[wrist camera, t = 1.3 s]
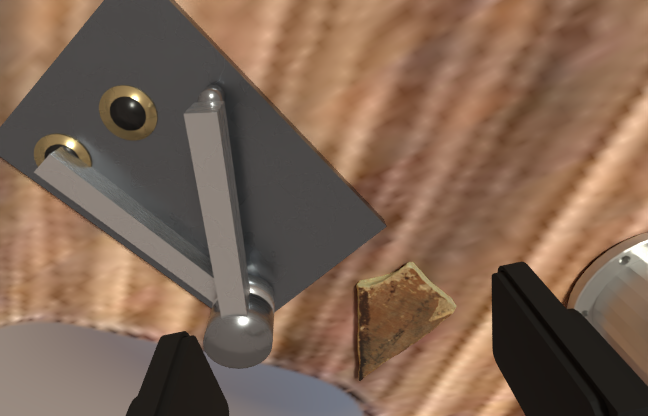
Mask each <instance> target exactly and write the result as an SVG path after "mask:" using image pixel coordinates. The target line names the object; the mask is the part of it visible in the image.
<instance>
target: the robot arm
mask: <svg viewBox="0 0 648 416" xmlns="http://www.w3.org/2000/svg"><path fill="white" fill-rule="evenodd" d="M492 344H493V355H494V358H495V361H496V363H497V365H498V367H499V369H500V371H501V372H502V374H503V376H504V378H505V379H506V381H507V383H508V385H509V387H510V388H511V390H512V392H513V394H514V396H515V397H516V399H517V401H518V403H519V405H520V406H521V408H522V410H523V412H524V413H525V415H526V416H648V232H647V233H643V234H640V235H637V236H635V237H632V238H630V239H628V240H626V241H623V242H621V243H620V244H618V245H616V246H615V247H613V248H611V249H610V250H608V251H607V252H605V253H604V254H603V255H602V256H600V257H599V258H598V259H596V260H595V261H594V262H593V263H592V264H591V265H590V266H589V267H588V268H587V269H586V270H585V272H584V273H583V274H582V276H581V277H580V278H579V280H578V281H577V282H576V284H575V286H574V288H573V290H572V292H571V294H570V297H569V301H568V305H567V309H566V308H565V307H564V306H563V304H562V303H561V302H560V301H559V300H558V299H557V298H556V297H555V295H554V294H553V293H552V292H551V291H550V290H549V289H548V287H547V286H546V285H545V284H544V283H543V282H542V281H541V280H540V278H539V277H538V276H537V275H536V274H535V273H534V272H533V270H532V269H531V268H530V267H529V266H528V265H527V264H526V263H525V262H518V263H513V264H508V265H503V266H500V267H499V268H498V273H494V274H492ZM126 416H229V408H228V404H227V401H226V399H225V397H224V395H223V393H222V391H221V389H220V387H219V384H218V382H217V380H216V378H215V376H214V374H213V372H212V370H211V368H210V365H209V363H208V361H207V359H206V357H205V355H204V353H203V351H202V349H201V347H200V344H199V342H198V340H197V338H196V337H195V336H189V334H188V333H187V332H186V331H183V332H178V333H173V334H168V335H164V336H162V337H161V338H160V340H159V342H158V345H157V347H156V350H155V352H154V355H153V357H152V360H151V363H150V365H149V368H148V371H147V373H146V376H145V378H144V381H143V384H142V386H141V389H140V391H139V394H138V396H137V397H136V398H135V399H134V400H133V401H132V403H131V404H130V406H129V409H128V411H127V414H126Z"/></svg>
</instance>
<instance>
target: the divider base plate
mask: <svg viewBox="0 0 648 416" xmlns="http://www.w3.org/2000/svg"><path fill="white" fill-rule="evenodd" d="M209 85H217V86H219V87H221V88H222V89H223V91H224V93H225V100H224V102H225V109H226V117H227V124H228V131H229V138H230V146H231V153H232V160H233V167H234V175H235V182H236V189H237V197H238V204H239V211H240V218H241V226H242V233H243V240H244V248H245V255H246V262H247V269H248V277H249V284H250V291H251V293H253V294H256V295H259V296H260V297H262V298H264V299H265V300H266V301H267V302H268V303H269V304H270V305H271V307H272V309H273V313H274V312H275V311H277V310H278V309H279V308H281V307H282V306H283V305H285V304H286V303H287V302H289V301H290V300H291V299H292V298H294V297H295V296H296V295H298V294H299V293H300V292H302V291H303V290H304V289H305V288H307V287H308V286H309V285H311V284H312V283H313V282H315V281H316V280H317V279H319V278H320V277H321V276H322V275H324V274H325V273H326V272H328V271H329V270H330V269H332V268H333V267H334V266H336V265H337V264H338V263H339V262H341V261H342V260H343V259H345V258H346V257H347V256H349V255H350V254H351V253H353V252H354V251H355V250H356V249H358V248H359V247H360V246H362V245H363V244H364V243H366V242H367V241H368V240H370V239H371V238H372V237H373V236H375V235H376V234H377V233H379V232H380V231H381V230H383V229H384V228H385V227H387V226H386V224H385V221H384V219H383V218H382V217H381V216H380V215H379V214H378V213H377V212H376V211H375V210H374V209H373V208H372V207H371V206H370V205H369V204H368V203H367V201H366V200H365V199H364V198H363V197H362V196H361V195H360V194H359V193H358V192H357V191H356V190H355V189H354V188H353V187H352V186H351V185H350V184H349V183H348V182H347V181H346V180H345V178H344V177H343V176H342V175H341V174H340V173H339V172H338V171H337V170H336V169H335V168H334V167H333V166H332V165H331V164H330V163H329V162H328V161H327V160H326V159H325V158H324V156H323V155H322V154H321V153H320V152H319V151H318V150H317V149H316V148H315V147H314V146H313V145H312V144H311V143H310V142H309V141H308V140H307V139H306V138H305V137H304V136H303V134H302V133H301V132H300V131H299V130H298V129H297V128H296V127H295V126H294V125H293V124H292V123H291V122H290V121H289V120H288V119H287V118H286V117H285V116H284V115H283V114H282V113H281V111H280V110H279V109H278V108H277V107H276V106H275V105H274V104H273V103H272V102H271V101H270V100H269V99H268V98H267V97H266V96H265V95H264V94H263V93H262V92H261V91H260V89H259V88H258V87H257V86H256V85H255V84H254V83H253V82H252V81H251V80H250V79H249V78H248V77H247V76H246V75H245V74H244V73H243V72H242V71H241V70H240V69H239V68H238V66H237V65H236V64H235V63H234V62H233V61H232V60H231V59H230V58H229V57H228V56H227V55H226V54H225V53H224V52H223V51H222V50H221V49H220V48H219V47H218V46H217V44H216V43H215V42H214V41H213V40H212V39H211V38H210V37H209V36H208V35H207V34H206V33H205V32H204V31H203V30H202V29H201V28H200V27H199V26H198V25H197V24H196V23H195V21H194V20H193V19H192V18H191V17H190V16H189V15H188V14H187V13H186V12H185V11H184V10H183V9H182V8H181V7H180V6H179V5H178V4H177V3H176V2H175V1H174V0H104V1H103V2H102V4H101V5H100V6H99V7H98V8H97V10H96V11H95V12H94V13H93V15H92V16H91V17H90V18H89V19H88V21H87V22H86V23H85V24H84V26H83V27H82V28H81V29H80V30H79V32H78V33H77V34H76V35H75V37H74V38H73V39H72V40H71V41H70V43H69V44H68V45H67V46H66V48H65V49H64V50H63V51H62V52H61V54H60V55H59V56H58V57H57V59H56V60H55V61H54V62H53V63H52V65H51V66H50V67H49V68H48V70H47V71H46V72H45V73H44V74H43V76H42V77H41V78H40V79H39V81H38V82H37V83H36V84H35V85H34V87H33V88H32V89H31V90H30V92H29V93H28V94H27V95H26V96H25V98H24V99H23V100H22V101H21V103H20V104H19V105H18V106H17V107H16V109H15V110H14V111H13V112H12V114H11V115H10V116H9V117H8V118H7V120H6V121H5V122H4V123H3V125H2V126H1V127H0V157H2V158H3V159H4V160H6V161H7V162H9V163H10V164H11V165H13V166H14V167H15V168H17V169H18V170H20V171H21V172H22V173H24V174H25V175H27V176H28V177H29V178H31V179H32V180H34V181H35V182H36V183H38V184H39V185H41V186H42V187H43V188H45V189H46V190H47V191H49V192H50V193H52V194H53V195H54V196H56V197H57V198H59V199H60V200H61V201H63V202H64V203H66V204H67V205H68V206H70V207H71V208H73V209H74V210H75V211H77V212H78V213H79V214H81V215H82V216H84V217H85V218H86V219H88V220H89V221H91V222H92V223H93V224H95V225H96V226H98V227H99V228H100V229H102V230H103V231H105V232H106V233H107V234H109V235H110V236H111V237H113V238H114V239H116V240H117V241H118V242H120V243H121V244H123V245H124V246H125V247H127V248H128V249H130V250H131V251H132V252H134V253H135V254H137V255H138V256H139V257H141V258H142V259H143V260H145V261H146V262H148V263H149V264H150V265H152V266H153V267H155V268H156V269H157V270H159V271H160V272H162V273H163V274H164V275H166V276H167V277H169V278H170V279H171V280H173V281H174V282H175V283H177V284H178V285H180V286H181V287H182V288H184V289H185V290H187V291H188V292H189V293H191V294H192V295H194V296H195V297H196V298H198V299H199V300H201V301H202V302H203V303H205V304H206V305H207V306H209V307H210V308H212V307H213V305H214V303H215V302H216V301H217V300H218V297H217V291H216V286H215V281H214V275H213V270H212V264H211V259H210V254H209V248H208V243H207V237H206V232H205V227H204V221H203V216H202V210H201V205H200V200H199V194H198V189H197V183H196V178H195V173H194V167H193V162H192V156H191V151H190V146H189V140H188V135H187V129H186V124H185V119H184V113H185V112H186V111H187V110H188V109H189V107H190V106H191V105H192V104H193V103H194V102H198V97H199V95H200V94H201V93H202V91H203V90H204V89H205V88H206V87H207V86H209Z"/></svg>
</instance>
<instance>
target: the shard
mask: <svg viewBox="0 0 648 416" xmlns="http://www.w3.org/2000/svg"><path fill="white" fill-rule="evenodd" d="M356 287H357V292H358V293H357V296H358V309H357V311H358V334H357V337H358V349H357V350H358V357H359V364H360V366H359V367H360V369H359V371H358V378H359V381H361V380H362V379H363V378H364V377H365V376H366V375H368V374H370V373H371V372H372V371H374V370H375V369H377V368H378V367H379V366H380V365H381V364H382V363H384V362H386V361H387V360H389V359H390V358H392V357H394V356H395V355H398V354H399V353H401V352H402V351H404V350H405V349H407V348H408V347H409V346H410V345H412V344H414V343H416V342H417V341H418V340H420V339H421V338H422V337H423V336H425V335H426V334H428V333H430V332H431V331H432V330H433V329H434V328H436V327H437V326H438V325H439V324H440V322H442V321H443V320H445V319H446V318H447V317H449V316H450V315H452V313H453V312H454V310H455V308H456V305H455V303H454V301H453V299H452V298H451V297H449V296H448V295H446V294H445V293H444V292H443V291H442V290H440V289H439V288H438V287H437V286H436V285H434V284H433V283H432V282H430V281H429V279H427V277H426V276H425V275H424V274H423V273H422V271H421V270H419V269H418V268H417V266H416V265H415V263H413V262H408V263H407V264H406V265H405V266H404V267H402V268H401V269H400V270H398V271H395V272H393V273H390V274H387V275H384V276H381V277H376V278H370V279H367V280H361V281H359V282H358V284H357V285H356Z"/></svg>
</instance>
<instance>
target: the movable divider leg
mask: <svg viewBox="0 0 648 416" xmlns="http://www.w3.org/2000/svg"><path fill="white" fill-rule="evenodd" d="M224 100H225V93H224V91H223V89H222V88H221V87H219V86H217V85H209V86H207V87H206V88H205V89H204V90H203V91H202V93H201V94H200V95H199V97H198V102H194V103H193V104H192V105H191V106H190V107H189V109H188V110H187V111H186V112H185V113H184V119H185V124H186V129H187V135H188V140H189V146H190V151H191V156H192V162H193V167H194V173H195V178H196V183H197V189H198V194H199V200H200V205H201V210H202V216H203V221H204V227H205V232H206V237H207V243H208V248H209V254H210V259H211V264H212V270H213V275H214V281H215V286H216V291H217V297H218V300H217V301H216V302H215V303H214V305H213V307H212V309H211V313H210V317H209V320H208V324H207V328H206V332H205V336H204V340H203V345H204V349H205V352H206V353H207V355H208V356H209V357H210V358H211V359H212V360H213V361H214V362H216V363H218V364H220V365H222V366H225V367H229V368H238V369H240V368H248V367H252V366H255V365H257V364H259V363H261V362H262V361H264V360H265V359H266V358H267V357H268V355H269V354H270V352H271V349H272V342H273V324H274V313H273V309H272V307H271V305H270V304H269V303H268V302H267V301H266V300H265V299H264V298H262V297H260V296H259V295H256V294H253V293H251V291H250V284H249V277H248V269H247V262H246V255H245V248H244V240H243V233H242V226H241V218H240V211H239V204H238V197H237V189H236V182H235V175H234V167H233V160H232V153H231V146H230V138H229V131H228V124H227V117H226V109H225V102H224Z"/></svg>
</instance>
